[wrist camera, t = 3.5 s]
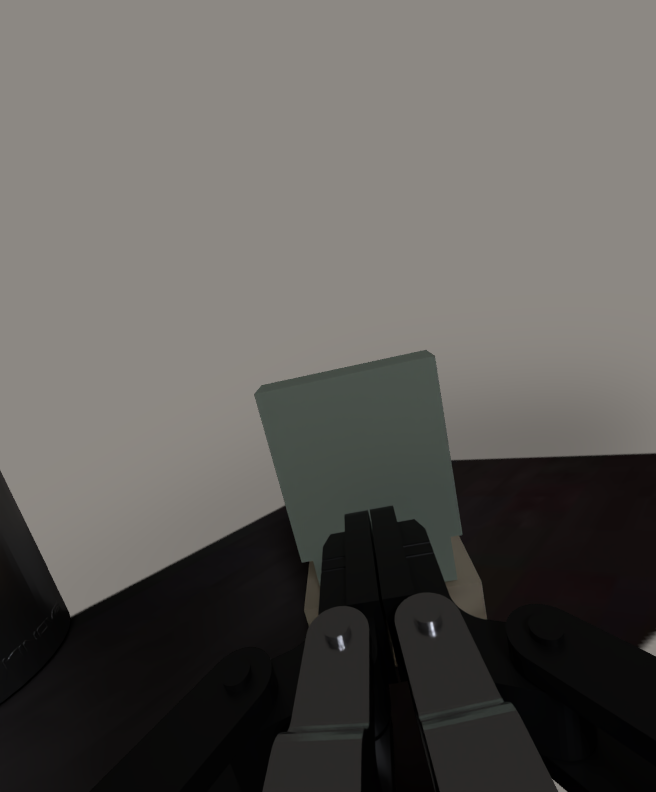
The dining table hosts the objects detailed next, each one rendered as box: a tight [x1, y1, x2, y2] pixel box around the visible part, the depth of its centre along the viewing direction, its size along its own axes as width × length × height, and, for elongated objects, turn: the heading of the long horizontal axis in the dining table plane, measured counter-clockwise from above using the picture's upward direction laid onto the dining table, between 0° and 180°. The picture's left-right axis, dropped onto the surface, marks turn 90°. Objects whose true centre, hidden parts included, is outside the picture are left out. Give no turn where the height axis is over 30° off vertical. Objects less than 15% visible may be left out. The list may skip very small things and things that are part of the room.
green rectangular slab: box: [254, 350, 462, 585], centre depth 17 cm, size 7×2×10 cm, turn 88°
